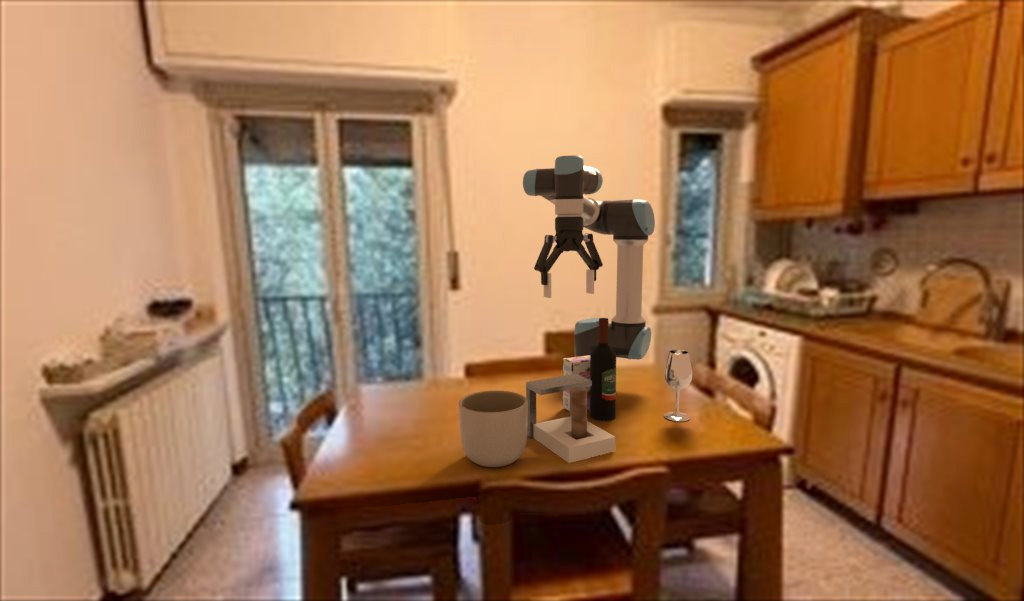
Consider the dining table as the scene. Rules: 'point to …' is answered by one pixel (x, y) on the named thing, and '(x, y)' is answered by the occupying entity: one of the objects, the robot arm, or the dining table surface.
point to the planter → (493, 427)
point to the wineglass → (678, 379)
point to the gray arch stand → (550, 387)
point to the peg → (578, 413)
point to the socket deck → (573, 440)
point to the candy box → (580, 368)
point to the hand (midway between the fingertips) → (569, 295)
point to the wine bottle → (603, 377)
